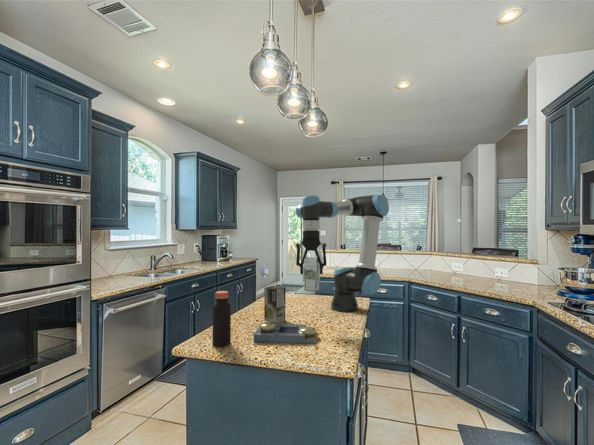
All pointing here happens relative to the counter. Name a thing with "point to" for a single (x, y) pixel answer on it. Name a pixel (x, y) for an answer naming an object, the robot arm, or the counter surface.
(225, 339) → the bottle
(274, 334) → the knobbed grey frame
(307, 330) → the grey base plate
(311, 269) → the syrup box
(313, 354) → the counter surface
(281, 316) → the coffee box
